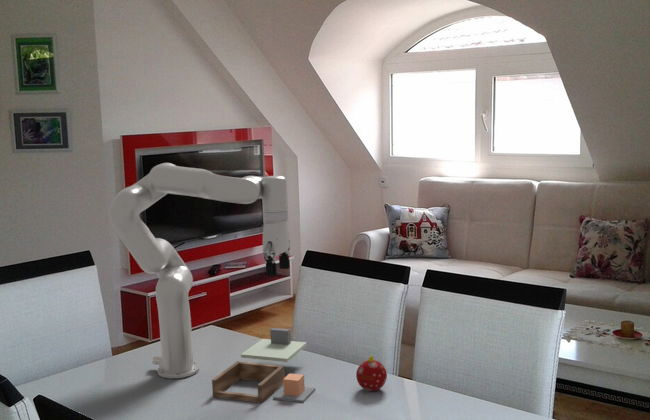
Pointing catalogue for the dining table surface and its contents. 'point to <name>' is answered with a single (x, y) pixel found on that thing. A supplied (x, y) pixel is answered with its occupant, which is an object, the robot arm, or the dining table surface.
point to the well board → (249, 371)
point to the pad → (301, 398)
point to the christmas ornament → (371, 375)
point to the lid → (275, 347)
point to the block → (293, 384)
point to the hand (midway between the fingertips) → (278, 272)
